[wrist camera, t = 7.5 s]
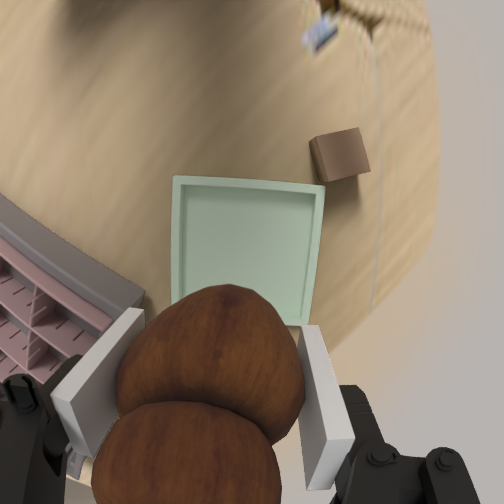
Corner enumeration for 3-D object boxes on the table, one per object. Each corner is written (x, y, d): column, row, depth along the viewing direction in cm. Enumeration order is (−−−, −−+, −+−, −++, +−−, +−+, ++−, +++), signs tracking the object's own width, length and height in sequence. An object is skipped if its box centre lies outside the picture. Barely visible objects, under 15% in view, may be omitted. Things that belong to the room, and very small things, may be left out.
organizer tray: (-27, 358, 38) (-54, 381, 29) (-14, 169, 29) (-64, 174, 19) (93, 452, 41) (74, 488, 31) (158, 283, 32) (121, 324, 22)
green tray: (176, 307, 32) (171, 314, 30) (178, 175, 29) (173, 175, 27) (305, 317, 32) (307, 326, 30) (321, 185, 29) (325, 186, 27)
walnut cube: (319, 180, 29) (328, 181, 25) (308, 141, 28) (315, 136, 24) (357, 171, 28) (370, 171, 24) (346, 133, 27) (358, 127, 24)
